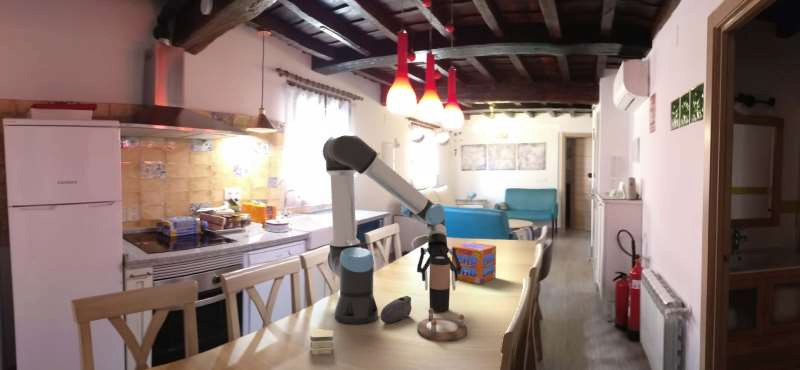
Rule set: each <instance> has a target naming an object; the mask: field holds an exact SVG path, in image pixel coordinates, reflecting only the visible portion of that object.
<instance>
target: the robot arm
mask: <svg viewBox="0 0 800 370" xmlns="http://www.w3.org/2000/svg"><path fill="white" fill-rule="evenodd" d="M322 156H323V159H324V160H325V169H326V172H327V173H328V174H329V176H330V187H331V190H330V191H331V192H330V193H331V212H332V234H333V235H332V237H333V238H332V239H331V241H330V242H329V252H328V255H327V265H328V267H329V269H330V271H331V272H332V273H334V275H336V276H337V277H338V279H339V296H338V297H339V298H338V301H337V302H336V303H337V304H336V306H335V308H334V309H335V310H334V319H335V320H336V321H337V322H339V323H342V324H347V325H362V324H368V323H372V322H374V321H376V319H378V317H379V309H378V305H377V303H376V300H375V295H374V264H375V260H374V254H373V252H372V251H371V250H369V249H367V248H363V247H361V240H360V239H359V238H357V230H356V229H357V228H356V227H357V225H356V206H355V205H356V203H355V201H356V199H355V198H356V197H355V177H354V175H355V174H356V172H357V173H358V174H360V175H366V177H368V178H369V179H371V181H373V182H375V184H377V185H378V186H379V187H380V188H382V189H383V190H384V191H386V192H387V193H388V194H390V195H391V196H392V197H393V198H394V199H396V200H397V201H398V202H399V203H401V204H402V205H401V207H400V213H401V215H402V216H405V217H407V218H409V219H412V220H414V221H417V222H419V223H422V224H424V225H426V228H427V248H424V247H420V256H419V259H418V263H417V268H416V272H417V273H420V274H421V281H422V282H424V290H425V291H428V290H429V285H428V284H429V283H428V282H429V281H428V280H429V278H428V271H427V270H428V269H429V268H430V256H431V255H435V254H442V255H447V256H448V257H449V255H448V253H449V254H450V255H451V259H450V272H451V284H452V291H456V287H457V286H456V282H458V280H457V279H458V276H457V273H461V270H462V268H461V265H460V263H459V260H458V257H457V255H456V249H455V248H453V249H452V248H449V247H448V240H447V227H446V226H447V225H446V212H445V207H443V205H442V204H440V203H433V202H432V201H431V200H430V199H429V198H427V197H426V195H424V194H423V193H421V191H420V190H418V189H417V188H415V187H414V186H413V185H412V184H410V182H408V181H407V180H406V179H404V177H402V176H401V174H399V173H397V172H396V171H395V170H394V169H393V168H391V167H390V166H389V165H388V164H387V163H386V162H384V161H383V160H382V159H381V158H379V155H378V152H377V151H376V150H374V149H373V148H372V146H370V145H369V144H368V143H366V142H365V141H364V140H363V139H362V138H360V137H359V136H357V135H355V134H353V133H348V132H344V133H341V134H335V135H332V136H330V137H329V138H328V139H327V140H326V141H325V143H324V145H323V147H322ZM427 253H428V255H429V256H428V258H427V259H426V262H425V263H424V265H423V261H424V258H425V255H427ZM452 258H453V260H454V263H455V266H456V267H455V266H454V264H453V263H452ZM422 265H423V266H422ZM456 268H457V269H456Z"/></svg>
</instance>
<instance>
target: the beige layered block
mask: <svg viewBox="0 0 800 370" xmlns="http://www.w3.org/2000/svg"><path fill="white" fill-rule="evenodd" d="M334 331H335V330H331V329H323V328H322V329H321V328H314V329H311V330H309V341H310V342H309V346H310V349H311V354H312V355H320V354H321V355H323V354H326V355H327V354H328V355H330V354H332V350H333V347H334V344H335V342H334V341H333V340H334V335H335V334H334Z"/></svg>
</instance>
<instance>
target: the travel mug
mask: <svg viewBox="0 0 800 370" xmlns="http://www.w3.org/2000/svg"><path fill="white" fill-rule="evenodd" d="M447 255H448V254H447ZM447 255H442V254H435V255H431V256H430V255H429V256H430V265H429V278H428V280H429V281H428V282H429V283H428V284H429V285H428V290H429V292H428V293H429V297H428V298H429V309H430V308H432V309H433V310H434V312H433V313H437V314H438V313H439V314H445V313H447V312H449V311H450V310H449V309H450V292H451V290H450V289H451V269H450V260H451V257H450V256H449V255H448V256H447Z"/></svg>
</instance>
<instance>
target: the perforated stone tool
mask: <svg viewBox="0 0 800 370" xmlns="http://www.w3.org/2000/svg"><path fill="white" fill-rule="evenodd" d="M411 297H412V296H409V295H405V296H402V297H399V298H395V299H394V300H391V301H390V302H389V303H388V304H386V305H385V306H384V307H383V308H382V310H381V313H380V321H381V322H382V323H384V324H390V323H393V322H397V321H400V320H402V319H405V318H407V317H408V316H410V315H411V312H412V309H413V308H412V307H413V306H412V298H411Z"/></svg>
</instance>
